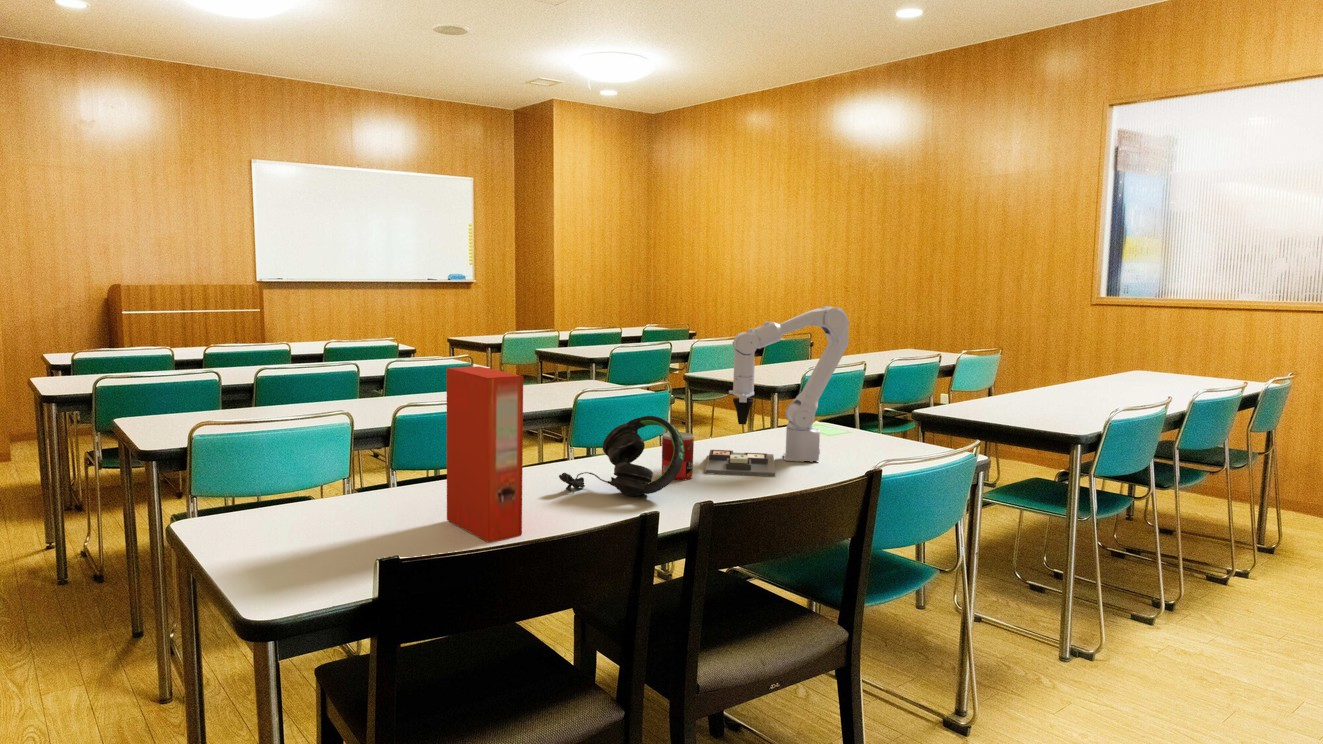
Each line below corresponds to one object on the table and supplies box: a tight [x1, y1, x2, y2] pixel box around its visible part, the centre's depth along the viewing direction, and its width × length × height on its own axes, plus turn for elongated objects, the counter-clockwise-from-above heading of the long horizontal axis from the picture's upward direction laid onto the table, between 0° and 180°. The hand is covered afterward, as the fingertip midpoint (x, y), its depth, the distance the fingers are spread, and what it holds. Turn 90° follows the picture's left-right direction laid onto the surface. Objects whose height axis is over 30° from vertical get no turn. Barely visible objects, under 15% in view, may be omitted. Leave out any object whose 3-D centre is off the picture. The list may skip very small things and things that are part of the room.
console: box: [705, 449, 776, 478], centre depth 232 cm, size 18×22×2 cm
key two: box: [730, 455, 748, 464], centre depth 226 cm, size 5×5×1 cm
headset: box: [558, 415, 684, 497], centre depth 200 cm, size 18×14×29 cm
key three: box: [713, 451, 730, 455], centre depth 237 cm, size 5×5×1 cm
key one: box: [747, 454, 764, 458], centre depth 234 cm, size 5×5×1 cm
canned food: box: [661, 431, 695, 481], centre depth 217 cm, size 8×8×11 cm
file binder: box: [446, 365, 524, 543], centre depth 171 cm, size 8×17×32 cm, turn 39°
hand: (742, 424), depth 239 cm, fingers closed
